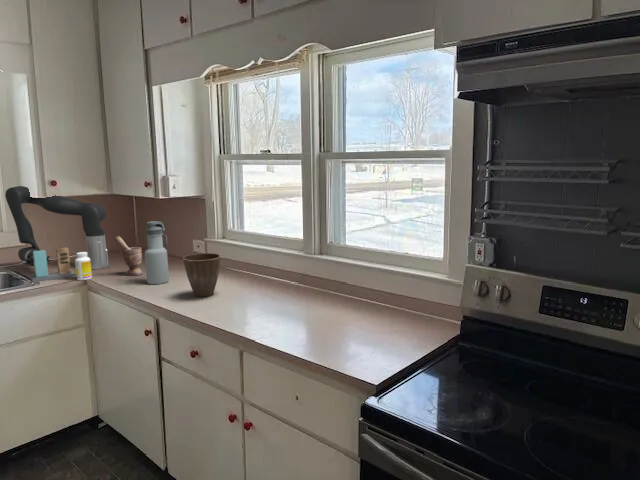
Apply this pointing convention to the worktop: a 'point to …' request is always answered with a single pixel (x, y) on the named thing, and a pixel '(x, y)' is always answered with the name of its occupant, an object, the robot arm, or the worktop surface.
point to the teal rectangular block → (40, 263)
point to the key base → (53, 276)
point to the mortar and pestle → (131, 257)
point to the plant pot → (202, 272)
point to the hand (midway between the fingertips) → (39, 262)
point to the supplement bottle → (83, 266)
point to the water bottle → (156, 254)
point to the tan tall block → (63, 260)
